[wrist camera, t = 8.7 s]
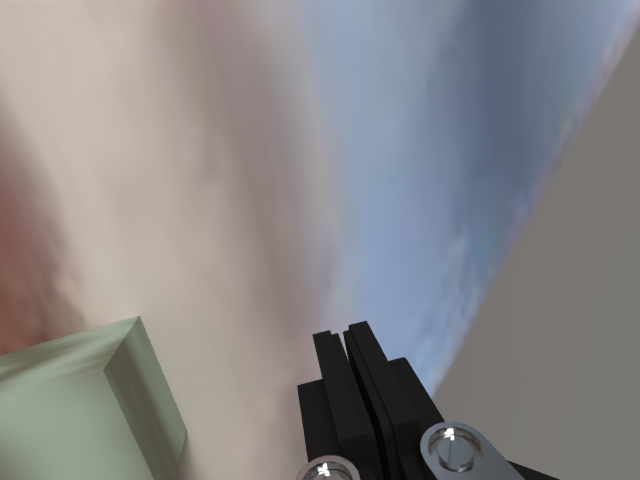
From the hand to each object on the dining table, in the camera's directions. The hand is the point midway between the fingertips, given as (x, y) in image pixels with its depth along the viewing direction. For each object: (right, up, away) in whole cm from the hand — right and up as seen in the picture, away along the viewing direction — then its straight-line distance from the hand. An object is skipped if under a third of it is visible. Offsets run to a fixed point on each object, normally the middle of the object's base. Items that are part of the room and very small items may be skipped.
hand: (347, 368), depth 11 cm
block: (-16, -6, +10) cm, 20 cm away
